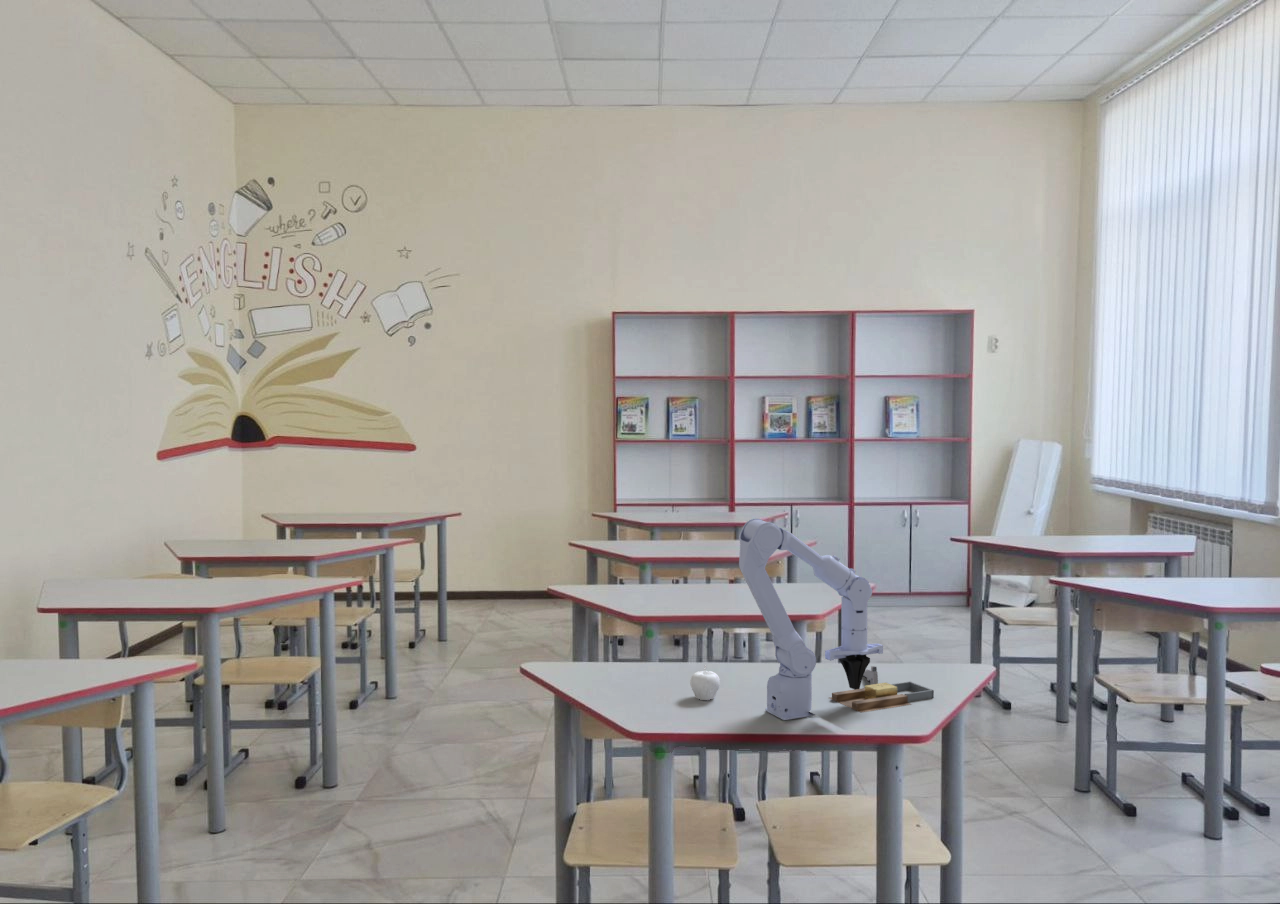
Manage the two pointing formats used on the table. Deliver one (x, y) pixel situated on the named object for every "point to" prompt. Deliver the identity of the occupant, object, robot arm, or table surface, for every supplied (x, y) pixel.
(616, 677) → the table surface
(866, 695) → the block
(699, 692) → the plain white apple
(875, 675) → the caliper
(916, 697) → the tray
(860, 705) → the slot board
